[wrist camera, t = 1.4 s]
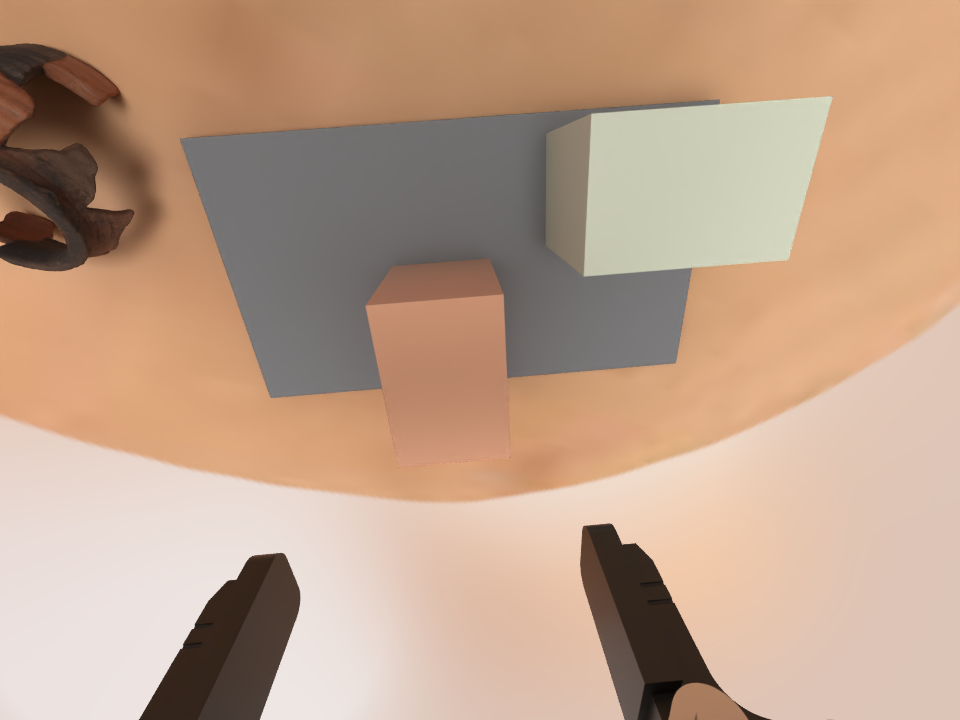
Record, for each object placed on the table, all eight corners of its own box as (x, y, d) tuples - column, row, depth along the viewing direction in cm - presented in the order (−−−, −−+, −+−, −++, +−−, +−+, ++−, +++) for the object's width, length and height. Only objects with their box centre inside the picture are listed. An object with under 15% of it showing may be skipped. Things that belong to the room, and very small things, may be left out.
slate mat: (191, 140, 22) (179, 138, 21) (709, 102, 22) (719, 99, 21) (276, 391, 28) (270, 398, 28) (669, 357, 29) (675, 363, 28)
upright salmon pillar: (392, 265, 24) (365, 305, 17) (489, 258, 24) (503, 294, 17) (413, 391, 28) (398, 467, 21) (496, 384, 28) (510, 457, 21)
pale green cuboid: (545, 245, 24) (583, 276, 17) (546, 133, 21) (591, 113, 14) (689, 234, 24) (788, 260, 17) (707, 121, 22) (832, 96, 14)
